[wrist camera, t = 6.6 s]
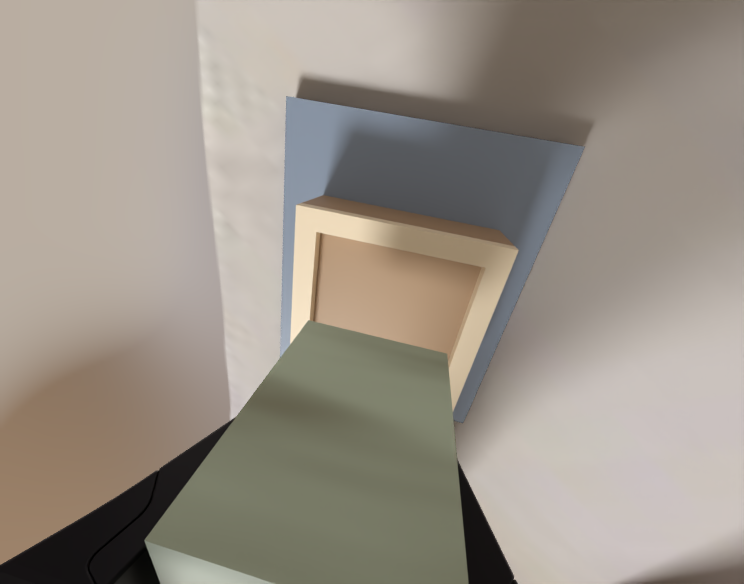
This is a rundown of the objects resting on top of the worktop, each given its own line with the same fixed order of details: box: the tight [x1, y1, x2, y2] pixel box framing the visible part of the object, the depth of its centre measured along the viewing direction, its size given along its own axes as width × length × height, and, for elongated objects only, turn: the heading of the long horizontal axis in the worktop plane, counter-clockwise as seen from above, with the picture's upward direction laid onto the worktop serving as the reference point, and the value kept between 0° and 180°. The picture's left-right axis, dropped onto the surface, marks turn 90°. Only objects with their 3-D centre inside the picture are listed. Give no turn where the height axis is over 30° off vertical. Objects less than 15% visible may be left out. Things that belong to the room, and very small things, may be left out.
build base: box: [280, 96, 585, 423], centre depth 16 cm, size 18×14×5 cm
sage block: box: [144, 320, 469, 584], centre depth 7 cm, size 4×4×6 cm
